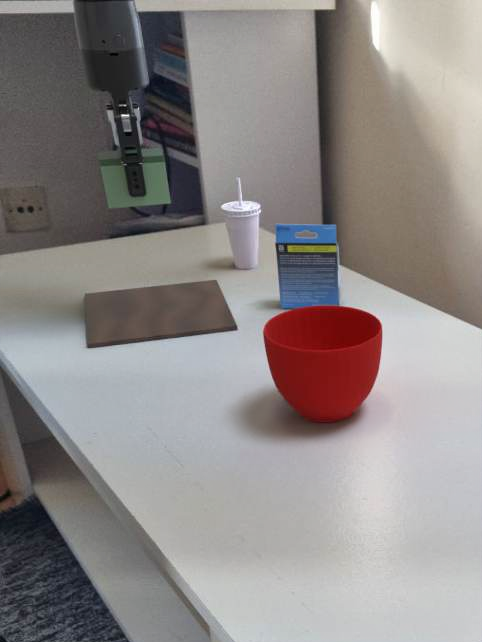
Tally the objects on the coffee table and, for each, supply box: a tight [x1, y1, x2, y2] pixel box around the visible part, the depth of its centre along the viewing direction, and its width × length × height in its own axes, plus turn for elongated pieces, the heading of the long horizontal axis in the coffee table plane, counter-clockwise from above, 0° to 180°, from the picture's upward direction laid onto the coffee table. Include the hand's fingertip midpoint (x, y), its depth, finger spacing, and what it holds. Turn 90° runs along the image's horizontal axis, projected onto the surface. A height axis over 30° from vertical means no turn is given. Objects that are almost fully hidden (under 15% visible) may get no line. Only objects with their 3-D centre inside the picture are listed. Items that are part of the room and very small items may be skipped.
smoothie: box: [220, 177, 262, 270], centre depth 131 cm, size 6×6×14 cm
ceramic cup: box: [262, 305, 383, 423], centre depth 91 cm, size 13×17×10 cm
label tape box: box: [274, 223, 342, 310], centre depth 116 cm, size 9×4×12 cm, turn 89°
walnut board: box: [84, 279, 239, 349], centre depth 117 cm, size 20×20×1 cm
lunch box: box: [97, 147, 172, 209], centre depth 106 cm, size 5×8×6 cm, turn 108°
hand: (136, 190), depth 107 cm, fingers closed on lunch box, 5 cm apart
